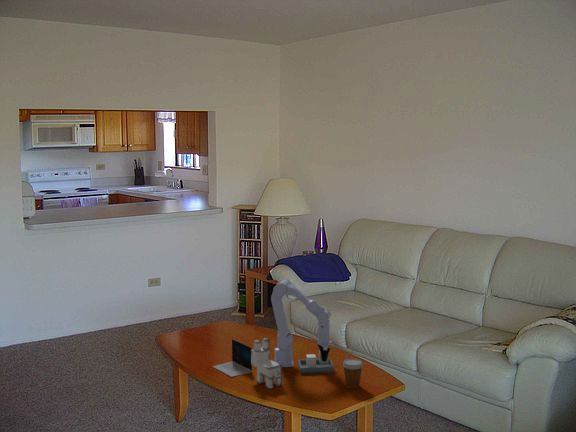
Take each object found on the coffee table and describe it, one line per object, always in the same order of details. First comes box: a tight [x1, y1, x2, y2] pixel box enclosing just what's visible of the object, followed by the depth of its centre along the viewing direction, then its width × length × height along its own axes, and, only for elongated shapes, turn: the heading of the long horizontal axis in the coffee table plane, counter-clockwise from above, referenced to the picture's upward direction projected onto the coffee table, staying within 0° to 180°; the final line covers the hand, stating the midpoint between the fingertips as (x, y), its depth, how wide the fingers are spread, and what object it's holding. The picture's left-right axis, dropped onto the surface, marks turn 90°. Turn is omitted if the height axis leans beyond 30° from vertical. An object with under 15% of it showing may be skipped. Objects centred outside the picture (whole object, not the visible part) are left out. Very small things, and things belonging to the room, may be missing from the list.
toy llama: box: [251, 337, 283, 390], centre depth 315 cm, size 8×18×20 cm, turn 37°
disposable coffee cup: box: [342, 358, 364, 390], centre depth 311 cm, size 10×10×12 cm
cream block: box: [305, 353, 317, 367], centre depth 334 cm, size 4×4×6 cm
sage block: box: [318, 349, 330, 364], centre depth 334 cm, size 4×4×6 cm
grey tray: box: [297, 358, 335, 375], centre depth 334 cm, size 17×12×3 cm
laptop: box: [212, 338, 253, 378], centre depth 333 cm, size 18×12×13 cm
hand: (323, 359), depth 334 cm, fingers closed on sage block, 4 cm apart
